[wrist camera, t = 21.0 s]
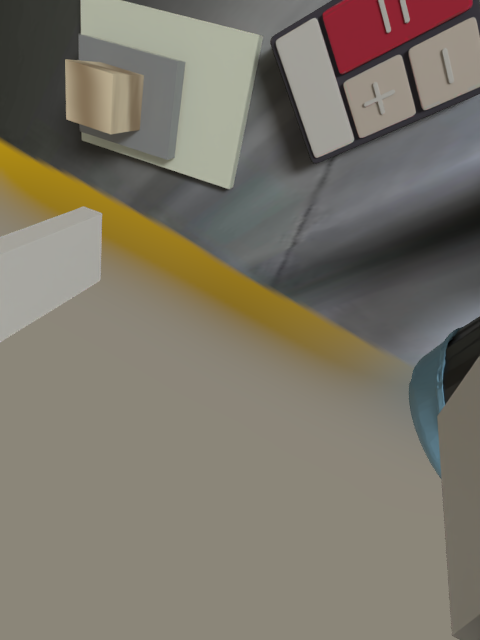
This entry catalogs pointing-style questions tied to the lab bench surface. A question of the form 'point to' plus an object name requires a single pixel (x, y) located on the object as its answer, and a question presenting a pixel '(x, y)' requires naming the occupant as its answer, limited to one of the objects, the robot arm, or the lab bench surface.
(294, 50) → the calculator
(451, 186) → the lab bench surface
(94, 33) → the board
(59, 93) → the lab bench surface
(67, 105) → the block
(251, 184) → the lab bench surface
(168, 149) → the tile
